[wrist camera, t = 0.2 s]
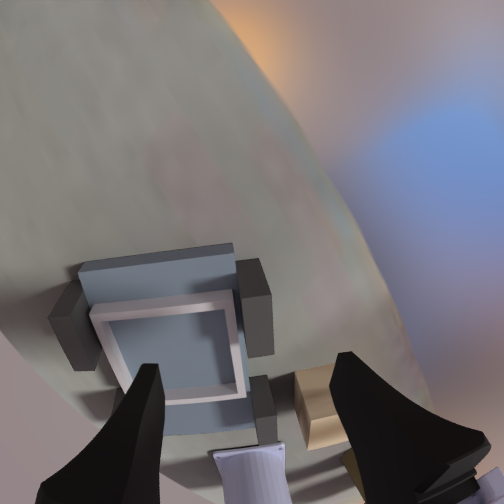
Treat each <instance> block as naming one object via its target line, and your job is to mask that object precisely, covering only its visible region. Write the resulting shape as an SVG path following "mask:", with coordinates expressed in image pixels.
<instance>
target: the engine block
mask: <svg viewBox="0 0 504 504" xmlns="http://www.w3.org/2000/svg"><path fill="white" fill-rule="evenodd" d="M334 366H335V363H334V364H329V365H324V366H320V367H315V368H310V369H305V370H299V371H295V381H294V407H295V411H296V414H297V417H298V421H299V424H300V427H301V431H302V434H303V437H304V441H305V444H306V447H307V451H308V450H313V449H317V448H321V447H325V446H329V445H333V444H337V443H341V442H345V441H348V440H349V439H348V437H347V435H346V432H345V430H344V428H343V426H342V423H341V421H340V419H339V416H338V414H337V412H336V409H335V407H334V404H333V400H332V397H331V393H330V389H329V383H330V380H331V377H332V373H333V370H334Z"/></svg>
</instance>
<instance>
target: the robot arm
mask: <svg viewBox="0 0 504 504" xmlns="http://www.w3.org/2000/svg"><path fill="white" fill-rule="evenodd" d="M329 389H330V393H331V397H332V400H333V404H334V407H335V409H336V412H337V414H338V416H339V419H340V421H341V423H342V426H343V428H344V430H345V432H346V435H347V437H348V439H349V442H350V444H351V446H352V449H353V452H354V454H355V458H356V461H357V465H358V468H359V472H360V476H361V480H362V484H363V489H364V493H365V498H366V504H504V475H503V473H502V471H501V470H500V468H499V467H496V468H494V469H493V470H491V471H489V472H488V473H486V474H485V475H483V476H482V477H480V478H479V479H478V480H476V479H475V477H474V476H475V475H476V474H477V472H476V470H475V468H474V467H475V466H476V465H477V464H478V463H479V462H480V461H481V460H482V459H483V458H484V457H485V456H486V455H487V454H488V453H489V451H490V449H491V444H490V443H489V441H488V440H487V438H486V437H485V435H484V433H483V432H482V431H478V430H474V429H471V428H467V427H464V426H461V425H458V424H456V423H453V422H450V421H448V420H446V419H443V418H441V417H439V416H437V415H435V414H433V413H431V412H429V411H427V410H426V409H424V408H422V407H420V406H419V405H417V404H416V403H414V402H412V401H411V400H409V399H408V398H406V397H405V396H404V395H402V394H401V393H400V392H398V391H397V390H396V389H394V388H393V387H392V386H391V385H389V384H388V383H387V382H386V381H384V380H383V379H382V378H381V377H380V376H379V375H377V374H376V373H375V372H374V371H373V370H372V369H371V368H370V367H368V366H367V365H366V364H365V363H364V362H363V361H362V360H361V359H360V358H358V357H357V356H356V355H355V354H354V353H353V352H352V351H350V352H343V353H338V356H337V359H336V363H335V366H334V370H333V373H332V377H331V380H330V383H329ZM164 423H165V393H164V389H163V384H162V379H161V374H160V369H159V364H158V363H143V364H142V365H141V366H140V368H139V370H138V372H137V374H136V376H135V378H134V380H133V382H132V384H131V385H130V387H129V389H128V391H127V392H126V394H125V396H124V397H123V399H122V401H121V402H120V404H119V405H118V407H117V408H116V410H115V411H114V413H113V414H112V416H111V417H110V418H109V420H108V421H107V422H106V424H105V425H104V426H103V428H102V429H101V430H100V432H99V433H98V434H97V435H96V436H95V437H94V438H93V440H92V441H91V442H90V443H89V444H88V445H87V446H86V447H85V448H84V449H83V450H82V451H81V452H80V453H79V454H78V455H77V456H76V457H75V458H74V459H72V460H71V461H70V462H69V463H68V464H67V465H65V466H64V467H63V468H62V469H60V470H59V471H58V472H57V473H55V474H54V475H52V476H51V477H49V478H48V479H46V480H45V481H43V482H42V483H41V485H40V488H39V490H38V493H37V497H36V502H35V504H160V492H159V467H160V457H161V448H162V440H163V431H164ZM213 457H214V460H215V463H216V465H217V468H218V470H219V473H220V475H221V477H222V482H223V492H224V501H225V504H292V501H291V497H290V493H289V489H288V485H287V481H286V477H285V445H284V443H283V442H279V443H274V444H268V445H261V446H255V447H247V448H240V449H231V450H222V451H214V452H213Z"/></svg>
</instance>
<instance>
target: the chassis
mask: <svg viewBox="0 0 504 504" xmlns="http://www.w3.org/2000/svg"><path fill="white" fill-rule="evenodd" d="M78 276H79V279H80V280H77V281H71V282H70V283H69V285H68V286H67V288H66V290H65V291H64V293H63V294H62V296H61V297H60V299H59V301H58V302H57V304H56V305H55V307H54V309H53V310H52V312H51V314H50V315H49V317H48V319H49V322H50V324H51V326H52V328H53V330H54V332H55V334H56V336H57V339H58V341H59V343H60V345H61V347H62V349H63V351H64V353H65V354H66V356H67V358H68V360H69V362H70V364H71V366H72V368H73V369H74V371H95V368H96V365H97V362H98V359H99V356H100V353H101V350H102V347H103V349H104V352H105V354H106V356H107V358H108V360H109V363H110V365H111V367H112V369H113V371H114V373H115V375H116V377H117V379H118V381H119V383H120V385H121V387H122V388H117V392H116V396H115V401H114V406H113V411H112V414H113V413H114V411H115V410H116V408H117V407H118V405H119V404H120V402H121V401H122V399H123V397H124V396H125V394H126V392H127V391H128V389H129V387H130V385H131V384H132V382H133V380H134V378H135V376H136V374H137V372H138V370H139V368H140V366H141V365H142V364H143V363H158V364H159V369H160V374H161V379H162V384H163V389H164V393H165V423H164V431H163V436H171V435H190V434H203V433H214V432H224V431H233V430H241V429H248V428H255V427H256V433H257V438H258V443H259V446H261V445H268V444H274V443H278V437H277V414H276V410H275V406H274V402H273V398H272V394H271V389H270V385H269V381H268V377H267V375H263V376H257V377H250V378H249V375H248V367H247V359H246V351H245V343H246V349H247V354H248V358H254V357H261V356H268V355H274V334H273V313H272V294H271V291H270V289H269V286H268V283H267V280H266V277H265V274H264V271H263V268H262V266H261V263H260V260H259V258H257V259H249V260H241V261H235V255H234V249H233V244H232V243H228V244H220V245H212V246H204V247H196V248H188V249H180V250H172V251H164V252H157V253H149V254H141V255H134V256H126V257H119V258H111V259H104V260H96V261H89V262H84V264H83V265H82V267H81V268H80V270H79V271H78ZM243 332H244V334H243ZM244 338H245V342H244Z"/></svg>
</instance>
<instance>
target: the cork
mask: <svg viewBox="0 0 504 504" xmlns="http://www.w3.org/2000/svg"><path fill="white" fill-rule="evenodd" d="M341 460H342V462H343V464H344V466H345V468H346V469H347V471H348V473H349V475H350V476H351V478H352V480H353V482H354V483H355V485H356V487H357V489H358V490H359V492H360V494H361V496H362V497H363V499H364V501H365V503H364V504H366V498H365V493H364V489H363V484H362V480H361V476H360V472H359V468H358V465H357V461H356V458H355V454H354V452H353V449H352V448H351V449H350V450H348V451H347V452H346V453H345V454H344V455H343V456H342V458H341Z"/></svg>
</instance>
